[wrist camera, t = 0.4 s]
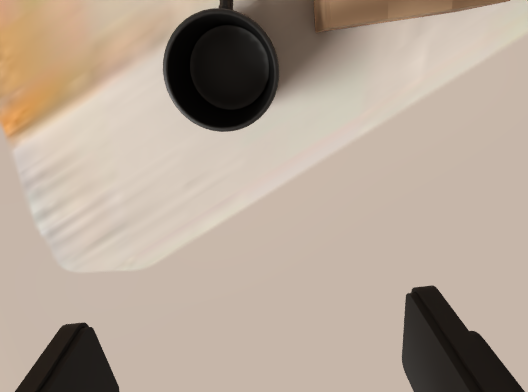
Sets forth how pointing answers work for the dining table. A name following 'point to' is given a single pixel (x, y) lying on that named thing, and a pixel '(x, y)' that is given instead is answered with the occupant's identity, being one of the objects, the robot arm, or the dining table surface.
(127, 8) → the dining table surface
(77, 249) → the dining table surface
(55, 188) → the dining table surface
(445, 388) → the robot arm
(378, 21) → the hole block
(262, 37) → the mug
